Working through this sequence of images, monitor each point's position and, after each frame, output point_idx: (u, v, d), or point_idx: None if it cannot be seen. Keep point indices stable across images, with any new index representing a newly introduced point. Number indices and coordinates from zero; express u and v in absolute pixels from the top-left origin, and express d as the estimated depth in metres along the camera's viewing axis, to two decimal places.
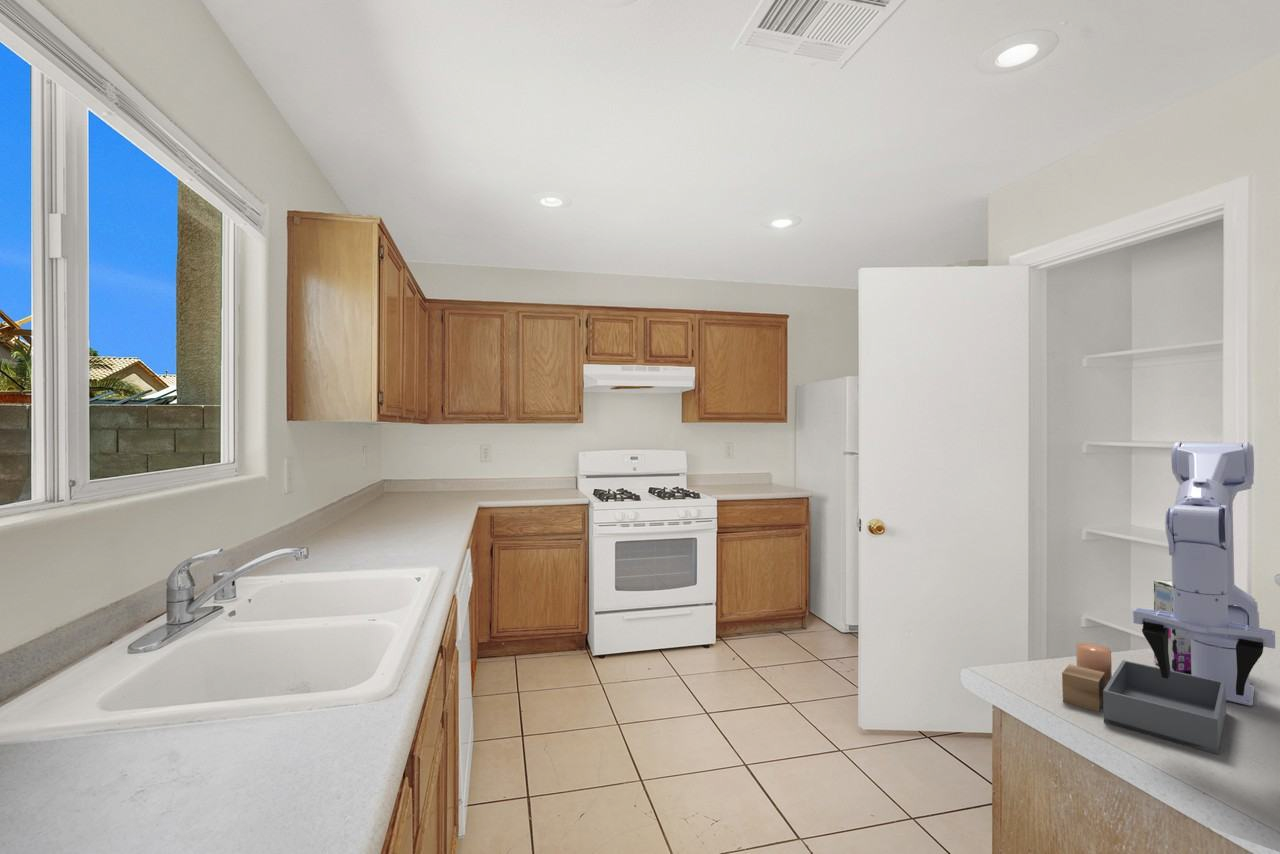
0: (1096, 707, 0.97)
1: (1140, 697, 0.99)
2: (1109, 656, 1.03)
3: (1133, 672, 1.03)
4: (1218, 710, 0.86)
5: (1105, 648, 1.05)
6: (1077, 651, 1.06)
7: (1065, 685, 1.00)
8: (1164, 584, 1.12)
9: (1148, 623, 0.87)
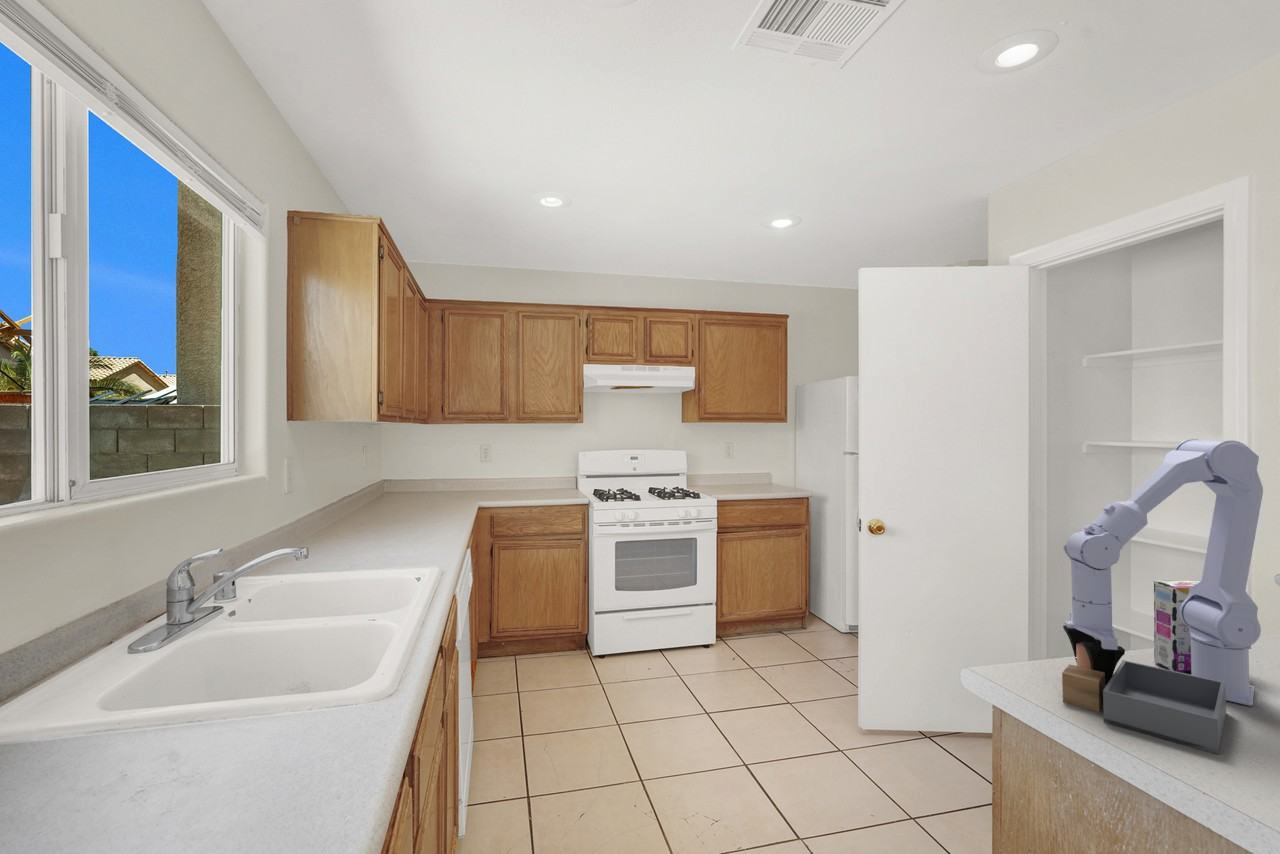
0: (1096, 707, 0.97)
1: (1140, 697, 0.99)
2: None
3: (1133, 672, 1.03)
4: (1218, 710, 0.86)
5: None
6: (1077, 651, 1.06)
7: (1065, 685, 1.00)
8: (1164, 584, 1.12)
9: None
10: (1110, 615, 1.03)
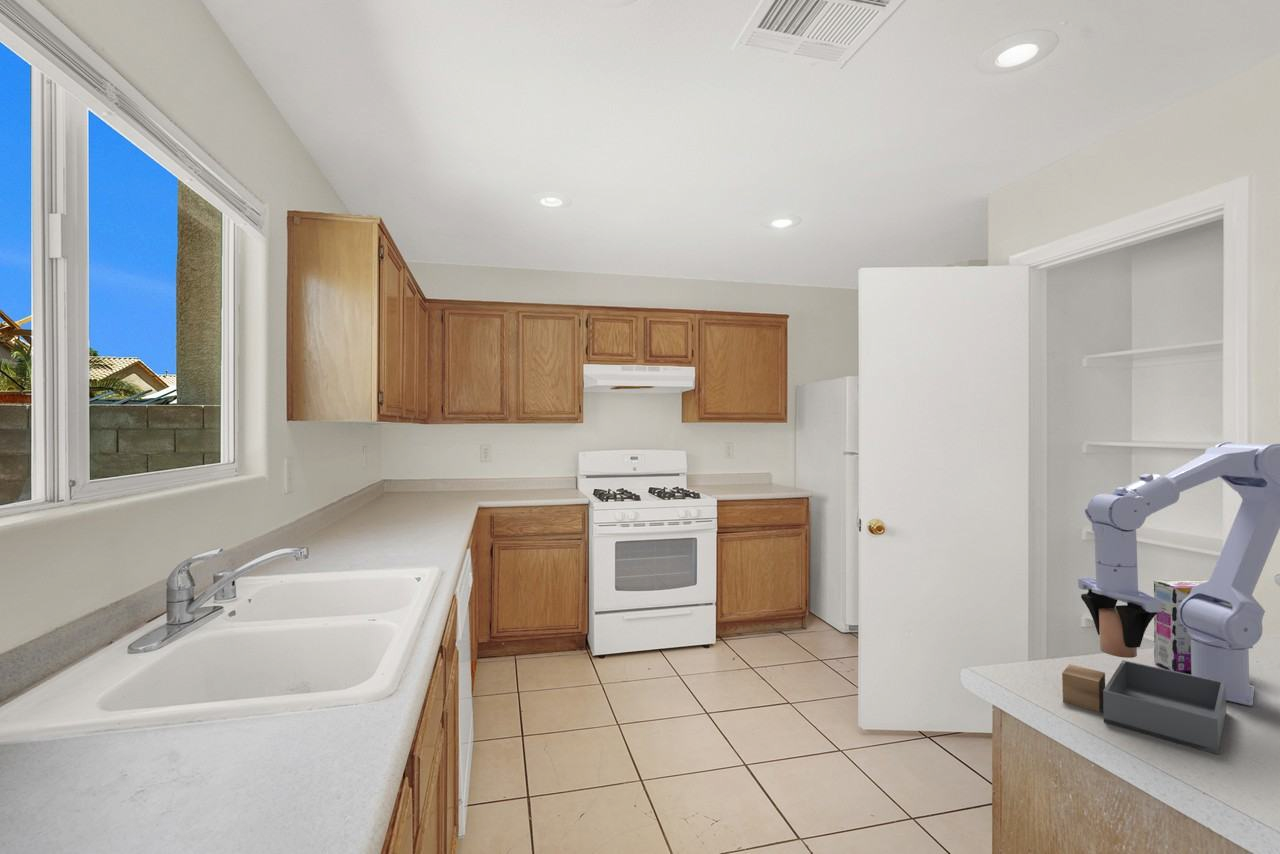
0: (1096, 707, 0.97)
1: (1140, 697, 0.99)
2: None
3: (1133, 672, 1.03)
4: (1218, 710, 0.86)
5: None
6: (1103, 617, 1.02)
7: (1065, 685, 1.00)
8: (1164, 584, 1.12)
9: (1087, 589, 1.08)
10: (1137, 577, 1.00)
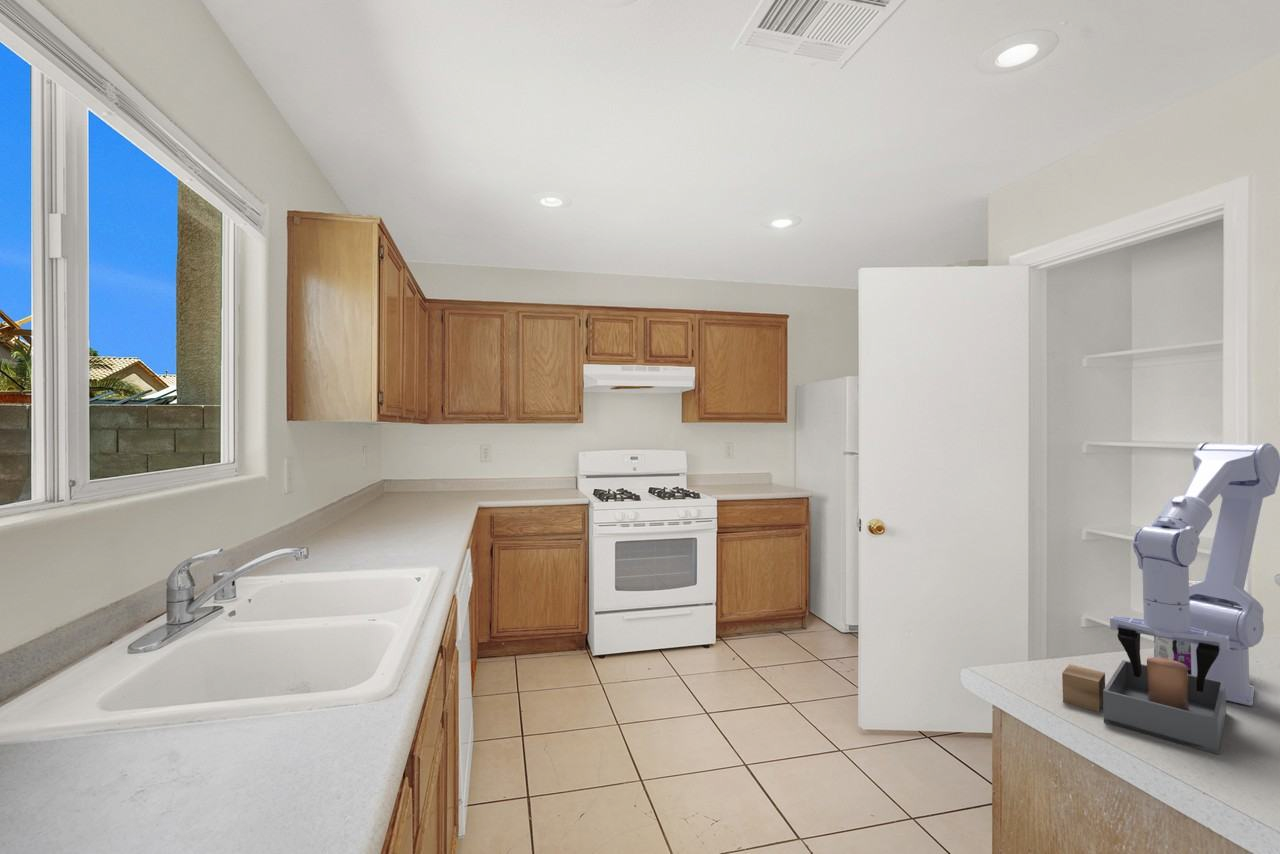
0: (1096, 707, 0.97)
1: (1140, 697, 0.99)
2: None
3: (1133, 672, 1.03)
4: (1218, 710, 0.86)
5: (1168, 660, 0.98)
6: (1164, 673, 0.95)
7: (1065, 685, 1.00)
8: None
9: (1122, 629, 1.00)
10: None
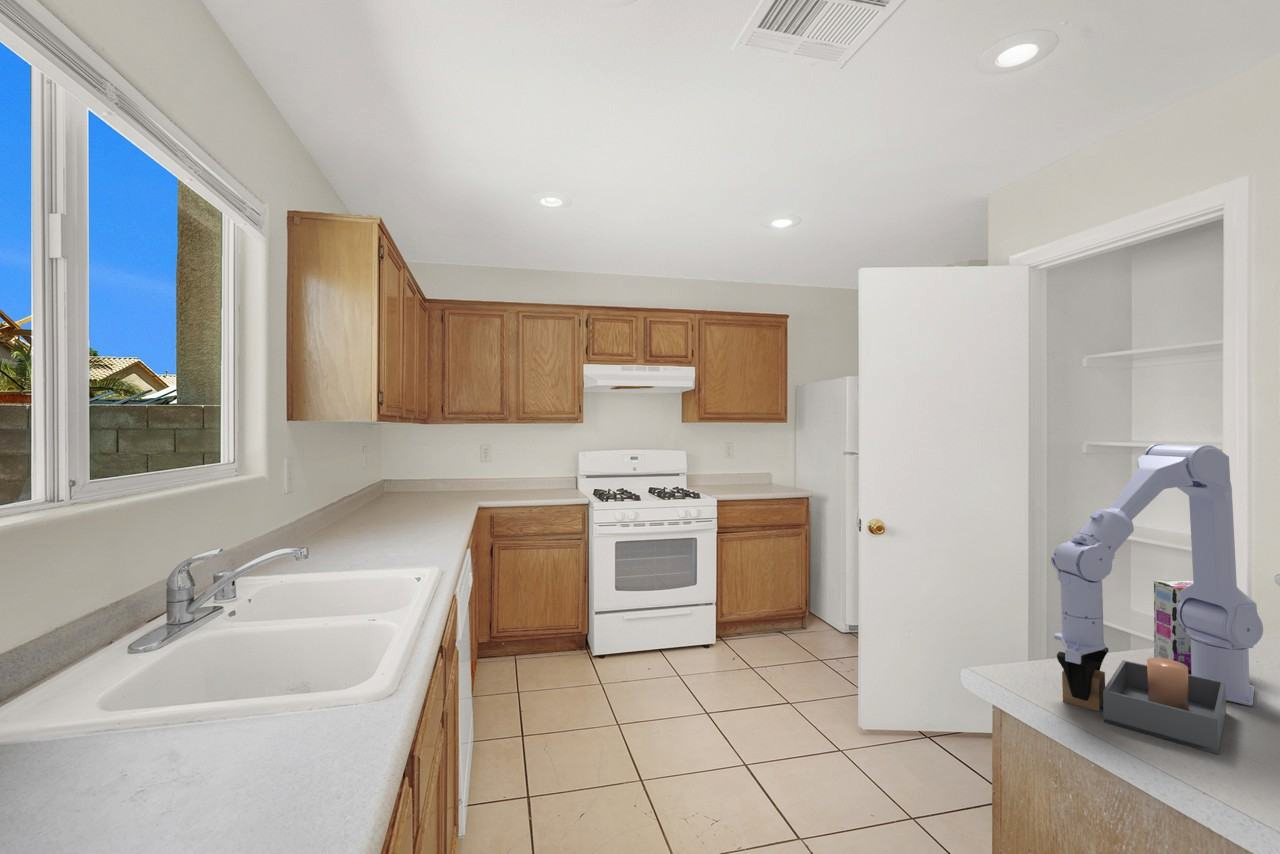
0: (1096, 707, 0.97)
1: (1140, 697, 0.99)
2: None
3: (1133, 672, 1.03)
4: (1218, 710, 0.86)
5: (1168, 660, 0.97)
6: (1164, 673, 0.95)
7: (1065, 684, 1.00)
8: (1164, 584, 1.12)
9: None
10: (1095, 631, 0.97)
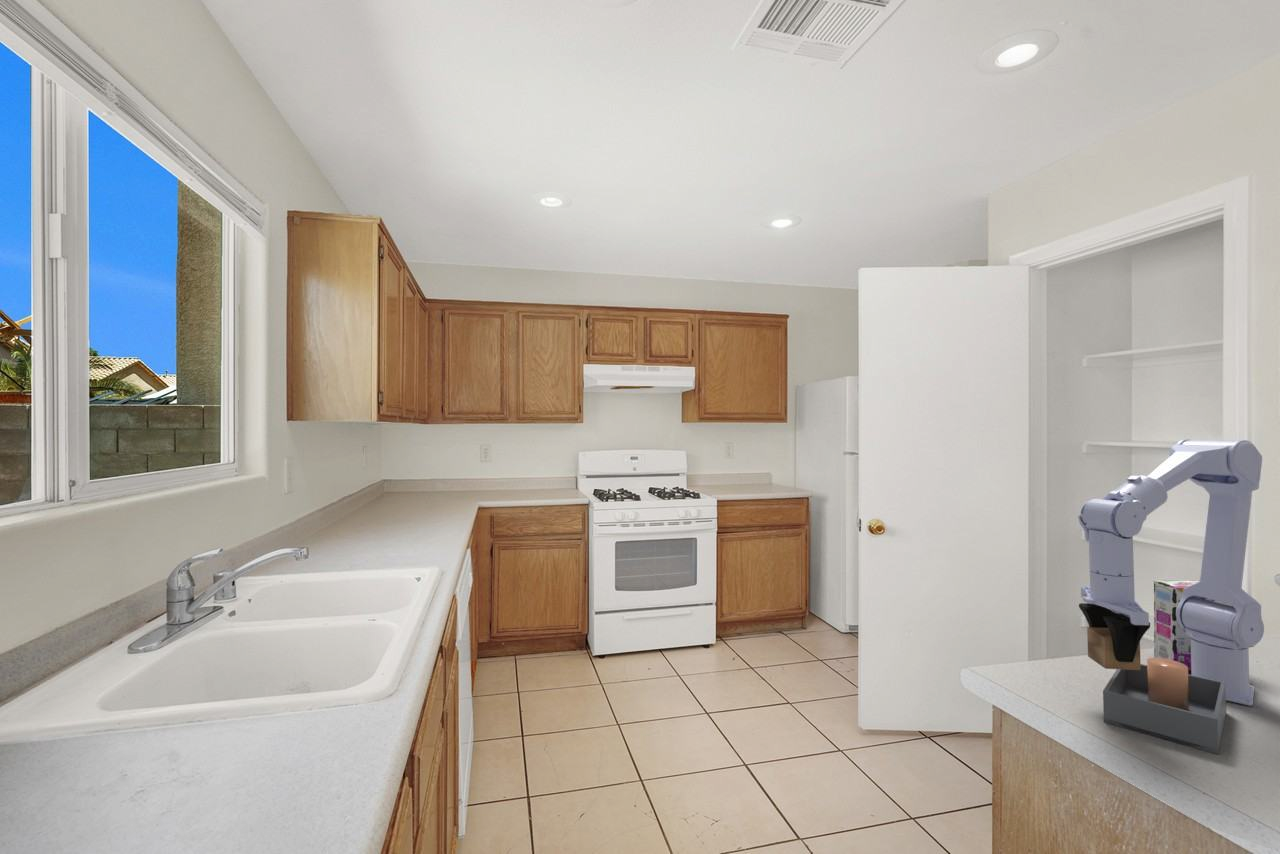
0: (1137, 666, 0.94)
1: (1140, 697, 0.99)
2: None
3: (1133, 672, 1.03)
4: (1218, 710, 0.86)
5: (1168, 660, 0.97)
6: (1164, 673, 0.95)
7: (1108, 650, 0.94)
8: (1164, 584, 1.12)
9: None
10: (1133, 588, 0.94)
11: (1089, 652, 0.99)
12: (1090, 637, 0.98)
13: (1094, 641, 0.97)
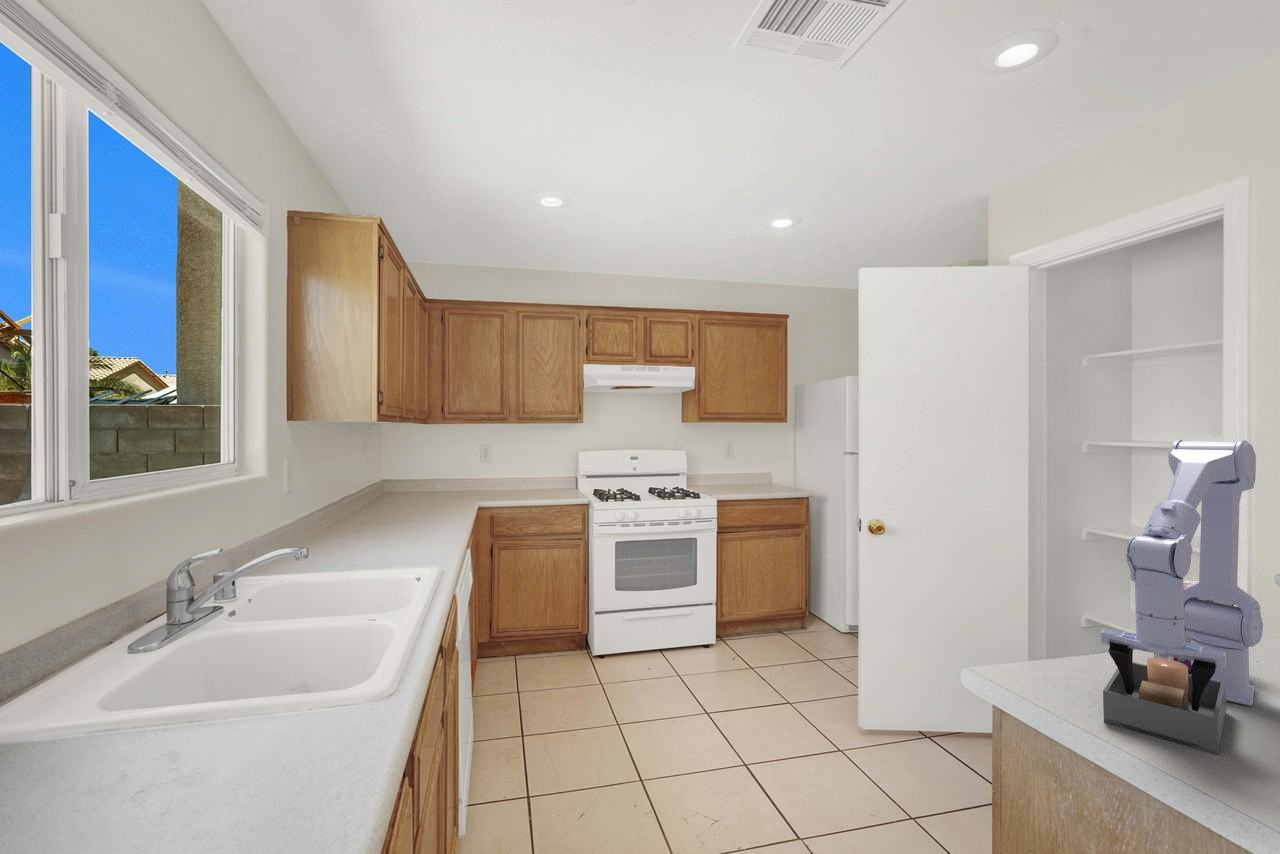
0: None
1: None
2: None
3: (1133, 672, 1.03)
4: (1218, 710, 0.86)
5: (1168, 660, 0.97)
6: (1164, 673, 0.95)
7: None
8: None
9: (1114, 644, 0.95)
10: None
11: None
12: None
13: None
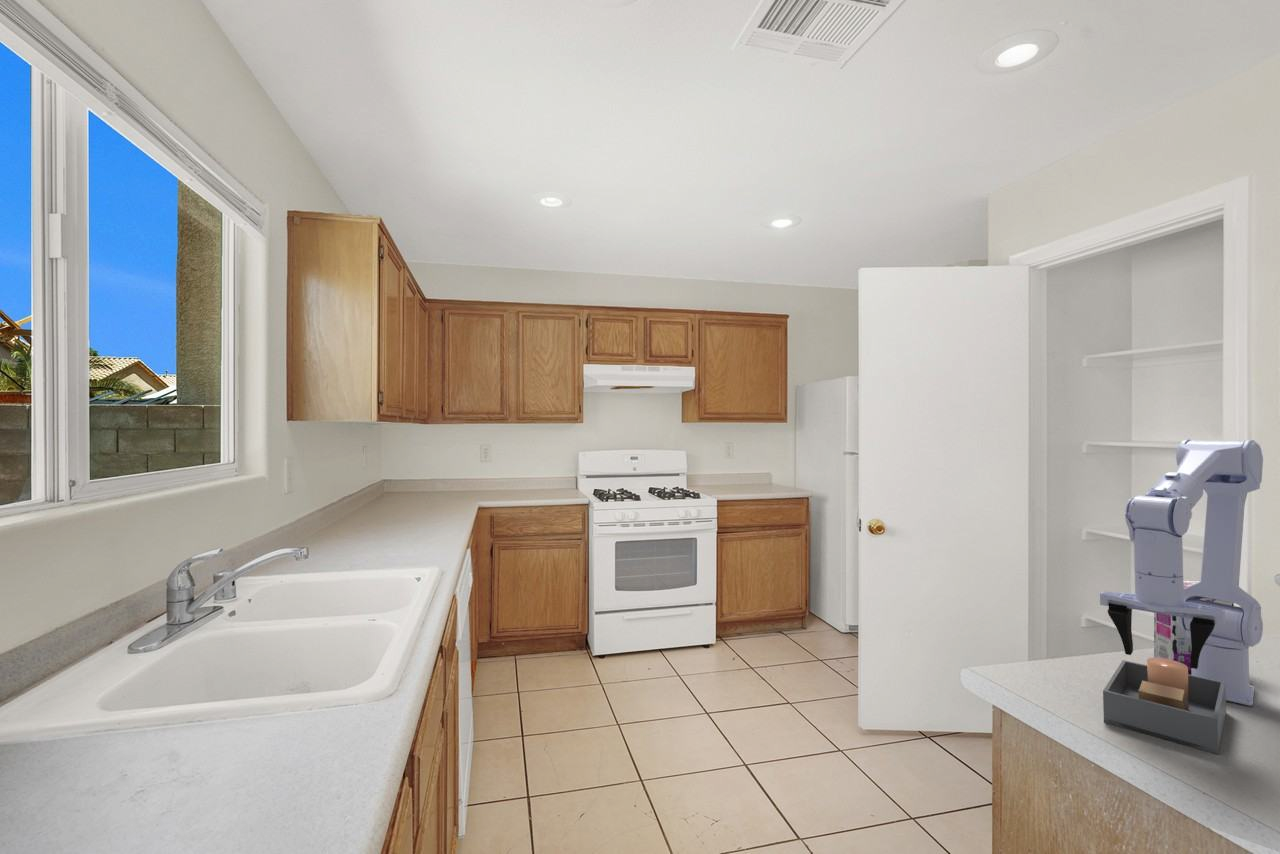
0: None
1: None
2: None
3: (1133, 672, 1.03)
4: (1218, 710, 0.86)
5: (1168, 660, 0.97)
6: (1164, 673, 0.95)
7: None
8: None
9: (1113, 604, 0.95)
10: None
11: None
12: None
13: None
